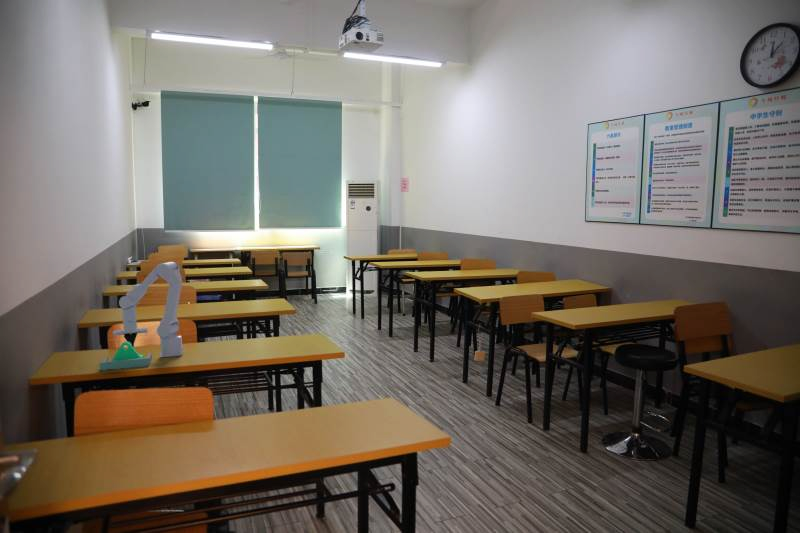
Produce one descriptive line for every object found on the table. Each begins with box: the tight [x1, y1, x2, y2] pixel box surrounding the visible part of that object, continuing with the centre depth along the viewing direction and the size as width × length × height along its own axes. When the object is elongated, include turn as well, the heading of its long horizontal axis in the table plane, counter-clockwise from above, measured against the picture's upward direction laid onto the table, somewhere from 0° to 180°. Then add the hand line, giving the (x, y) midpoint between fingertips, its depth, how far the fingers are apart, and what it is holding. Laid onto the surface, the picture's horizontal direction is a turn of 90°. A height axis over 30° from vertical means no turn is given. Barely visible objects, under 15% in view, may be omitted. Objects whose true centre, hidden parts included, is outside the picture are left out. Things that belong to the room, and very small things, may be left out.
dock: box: [99, 352, 153, 371], centre depth 240 cm, size 19×13×4 cm
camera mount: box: [111, 340, 144, 361], centre depth 241 cm, size 12×8×10 cm, turn 109°
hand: (131, 348), depth 255 cm, fingers closed
